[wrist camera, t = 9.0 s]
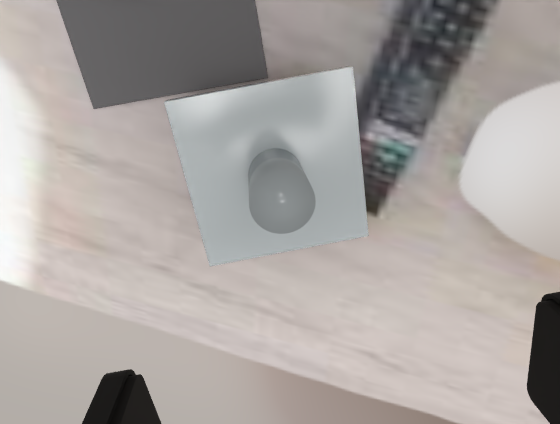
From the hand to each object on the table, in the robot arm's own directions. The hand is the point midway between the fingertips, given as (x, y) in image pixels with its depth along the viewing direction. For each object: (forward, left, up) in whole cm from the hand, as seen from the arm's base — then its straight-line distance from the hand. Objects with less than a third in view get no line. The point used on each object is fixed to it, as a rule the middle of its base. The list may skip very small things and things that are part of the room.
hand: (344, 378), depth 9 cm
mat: (+7, -10, -26) cm, 29 cm away
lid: (0, 0, -18) cm, 18 cm away
